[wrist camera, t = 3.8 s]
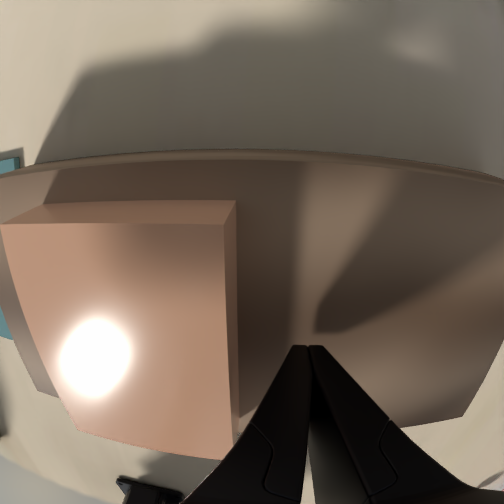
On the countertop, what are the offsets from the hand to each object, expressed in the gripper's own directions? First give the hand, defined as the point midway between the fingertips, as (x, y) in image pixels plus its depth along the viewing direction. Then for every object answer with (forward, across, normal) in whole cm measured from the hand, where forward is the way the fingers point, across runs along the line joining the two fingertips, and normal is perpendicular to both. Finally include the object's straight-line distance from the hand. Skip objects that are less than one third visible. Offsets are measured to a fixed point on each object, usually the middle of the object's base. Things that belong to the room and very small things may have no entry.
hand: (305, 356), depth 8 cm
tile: (+1, +5, 0) cm, 5 cm away
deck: (+5, +2, 0) cm, 5 cm away
